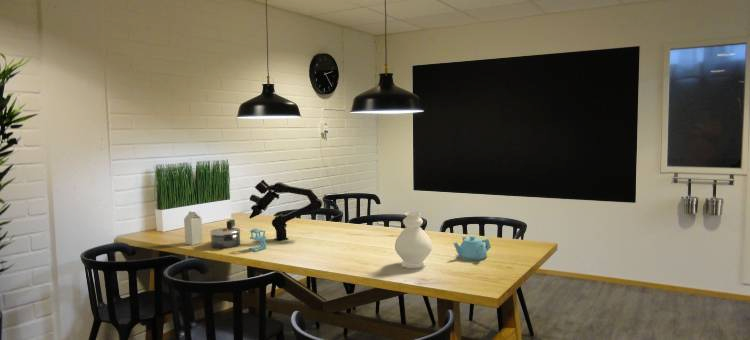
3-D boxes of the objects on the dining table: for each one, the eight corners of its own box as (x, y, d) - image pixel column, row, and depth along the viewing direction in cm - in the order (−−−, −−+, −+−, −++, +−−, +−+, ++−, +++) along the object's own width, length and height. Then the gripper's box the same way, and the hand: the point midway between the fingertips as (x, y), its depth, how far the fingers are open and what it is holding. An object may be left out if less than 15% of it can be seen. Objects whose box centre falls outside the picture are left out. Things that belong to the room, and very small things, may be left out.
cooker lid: (235, 235, 297) (235, 226, 297) (206, 236, 298) (205, 227, 297) (246, 227, 320) (245, 219, 320) (219, 228, 321) (218, 219, 320)
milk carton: (192, 245, 309) (190, 213, 307) (185, 243, 313) (183, 212, 312) (202, 243, 315) (201, 211, 313) (195, 241, 319) (194, 210, 317)
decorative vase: (440, 265, 252) (439, 213, 250) (411, 271, 242) (410, 217, 240) (416, 257, 267) (415, 208, 264) (387, 264, 256) (386, 213, 254)
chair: (268, 249, 294) (268, 228, 293) (255, 252, 288) (255, 230, 287) (261, 247, 299) (260, 226, 298) (248, 249, 294) (247, 228, 293)
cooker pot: (243, 247, 300) (242, 235, 299) (214, 251, 293) (213, 238, 293) (235, 238, 323) (235, 227, 323) (208, 242, 317) (207, 230, 316)
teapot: (482, 262, 254) (482, 240, 253) (453, 259, 261) (452, 238, 260) (491, 255, 268) (491, 234, 267) (463, 252, 275) (462, 232, 274)
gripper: (261, 188, 325) (244, 206, 326) (253, 192, 306) (235, 211, 308) (274, 200, 325) (257, 218, 327) (267, 205, 307) (249, 224, 308)
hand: (249, 217), depth 317 cm, fingers closed
